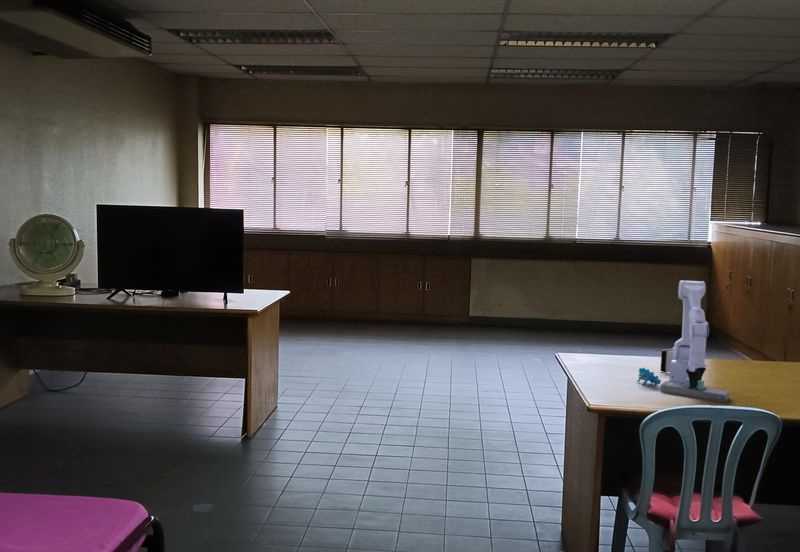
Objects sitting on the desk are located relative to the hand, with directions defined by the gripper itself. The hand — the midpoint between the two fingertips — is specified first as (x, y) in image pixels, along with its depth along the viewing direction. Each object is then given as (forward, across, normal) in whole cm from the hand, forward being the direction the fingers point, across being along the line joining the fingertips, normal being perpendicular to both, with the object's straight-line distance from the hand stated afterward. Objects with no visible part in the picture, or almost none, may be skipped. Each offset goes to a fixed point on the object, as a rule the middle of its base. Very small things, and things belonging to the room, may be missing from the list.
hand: (695, 386), depth 272 cm
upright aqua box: (+4, 0, 0) cm, 4 cm away
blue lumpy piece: (+4, +4, +20) cm, 20 cm away
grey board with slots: (+4, 0, 0) cm, 4 cm away
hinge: (+4, +39, +20) cm, 44 cm away
